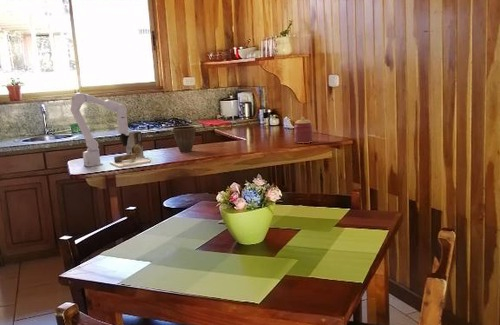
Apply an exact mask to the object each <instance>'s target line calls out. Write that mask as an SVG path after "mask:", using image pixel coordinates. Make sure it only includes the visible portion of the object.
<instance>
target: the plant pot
mask: <svg viewBox="0 0 500 325" xmlns="http://www.w3.org/2000/svg"><path fill="white" fill-rule="evenodd" d="M172 131H173V135H174V139H175V142H176V145H177V148H178V151H179V152H180V153H190V152H192V150H193V147H194V142H195V136H196V126H193V125H184V126H183V125H182V126H181V125H180V126H175V127H173V128H172Z"/></svg>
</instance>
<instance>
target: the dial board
mask: <svg viewBox="0 0 500 325" xmlns="http://www.w3.org/2000/svg"><path fill="white" fill-rule="evenodd" d="M150 162H151V163H152V161H151V160H149V159H146V158H143V157H142V156H140V157H136V159H131V160H124V161H122V162H115V160H114V161H110V162H109V164H110V165H111V166H115V167H116V168H125V167H131V166H136V165H144V164H150Z"/></svg>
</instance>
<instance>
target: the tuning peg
mask: <svg viewBox="0 0 500 325" xmlns="http://www.w3.org/2000/svg"><path fill="white" fill-rule="evenodd" d="M136 158H137V157H136V154H135V153H134V154H127V153H126V154H121V155H115V156H113V159H114V161H115V162H122V161H124V160H131V159H136Z"/></svg>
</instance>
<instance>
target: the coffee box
mask: <svg viewBox="0 0 500 325" xmlns="http://www.w3.org/2000/svg"><path fill="white" fill-rule="evenodd" d="M125 152H126V155H127V154H134V153H135V154H136V158H140V157H144V154H145V153H144V147H143V137H142V131H139V130H132V131H130V132H129V137H128V141H127V146H125Z"/></svg>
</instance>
